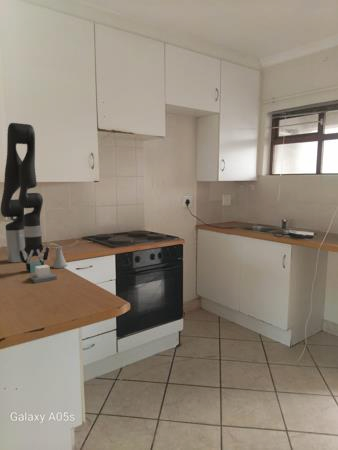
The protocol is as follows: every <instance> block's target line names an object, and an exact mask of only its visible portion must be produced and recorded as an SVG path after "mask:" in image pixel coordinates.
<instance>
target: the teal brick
mask: <svg viewBox="0 0 338 450" xmlns="http://www.w3.org/2000/svg"><path fill="white" fill-rule="evenodd" d="M29 263H30V271H29V273H32V274H34V273H35V266H41V265H42V264H41V262H40V260H37V261H35V260H34V261H30V262H29Z"/></svg>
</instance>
